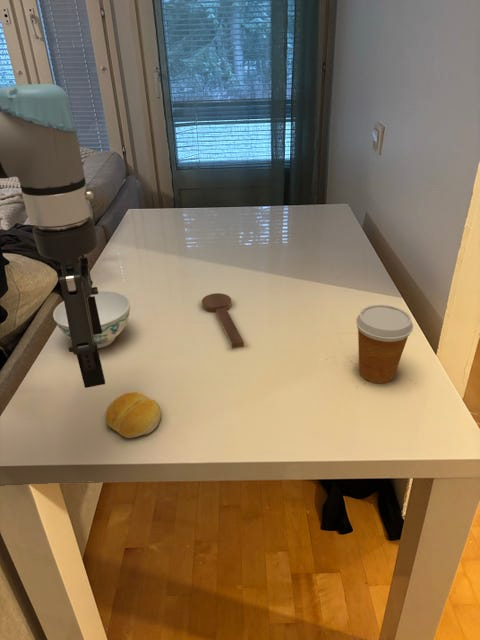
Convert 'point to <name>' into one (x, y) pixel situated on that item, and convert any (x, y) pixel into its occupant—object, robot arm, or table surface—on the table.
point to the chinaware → (101, 316)
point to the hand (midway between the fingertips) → (94, 357)
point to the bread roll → (133, 414)
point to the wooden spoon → (223, 316)
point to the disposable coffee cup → (381, 341)
